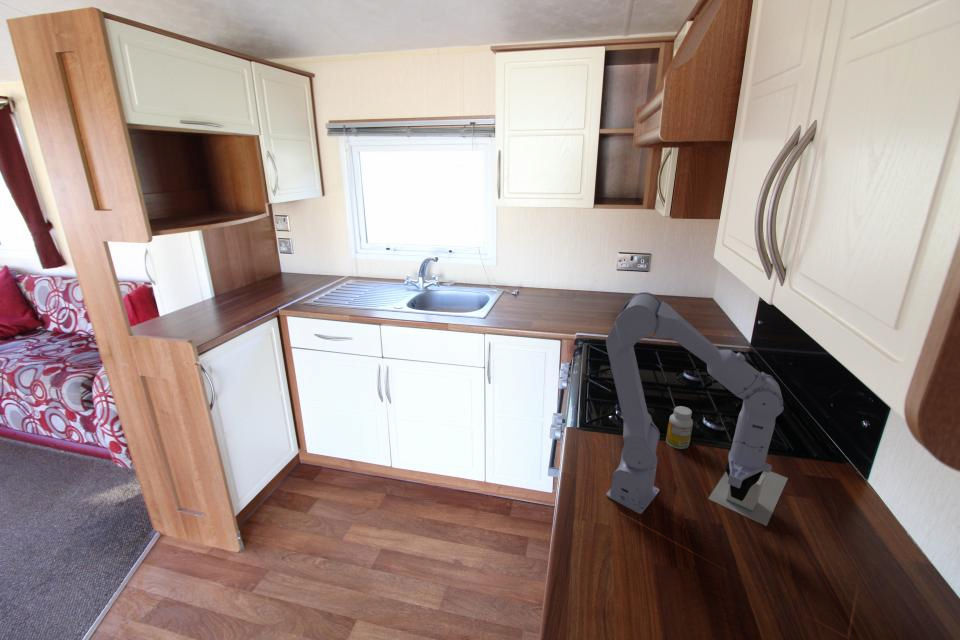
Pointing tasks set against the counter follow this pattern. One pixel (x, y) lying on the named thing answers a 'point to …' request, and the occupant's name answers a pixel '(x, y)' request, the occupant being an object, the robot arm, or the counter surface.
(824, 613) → the counter surface
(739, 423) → the robot arm
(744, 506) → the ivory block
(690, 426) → the supplement bottle
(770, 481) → the grey mat
